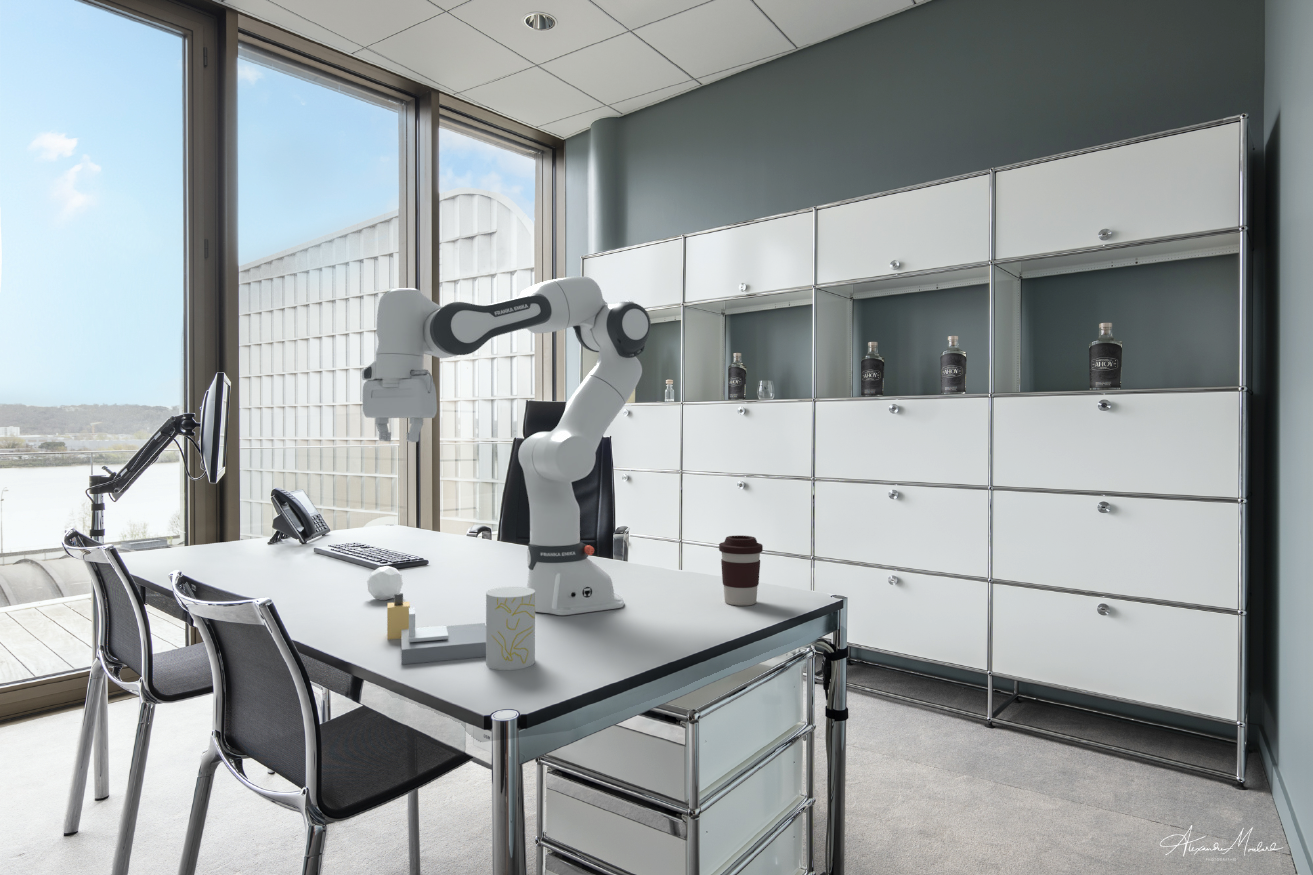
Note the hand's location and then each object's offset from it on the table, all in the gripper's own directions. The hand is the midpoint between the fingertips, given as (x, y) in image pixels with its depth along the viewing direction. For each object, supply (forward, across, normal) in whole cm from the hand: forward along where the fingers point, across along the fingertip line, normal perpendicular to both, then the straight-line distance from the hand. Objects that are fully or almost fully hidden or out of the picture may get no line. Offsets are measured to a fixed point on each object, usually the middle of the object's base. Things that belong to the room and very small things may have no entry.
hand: (398, 441), depth 145 cm
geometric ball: (+37, +25, -14) cm, 47 cm away
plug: (+37, -4, +2) cm, 37 cm away
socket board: (+37, -18, +2) cm, 41 cm away
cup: (+37, -33, -1) cm, 50 cm away
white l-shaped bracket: (+34, -17, +4) cm, 38 cm away
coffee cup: (+36, -41, -62) cm, 83 cm away
